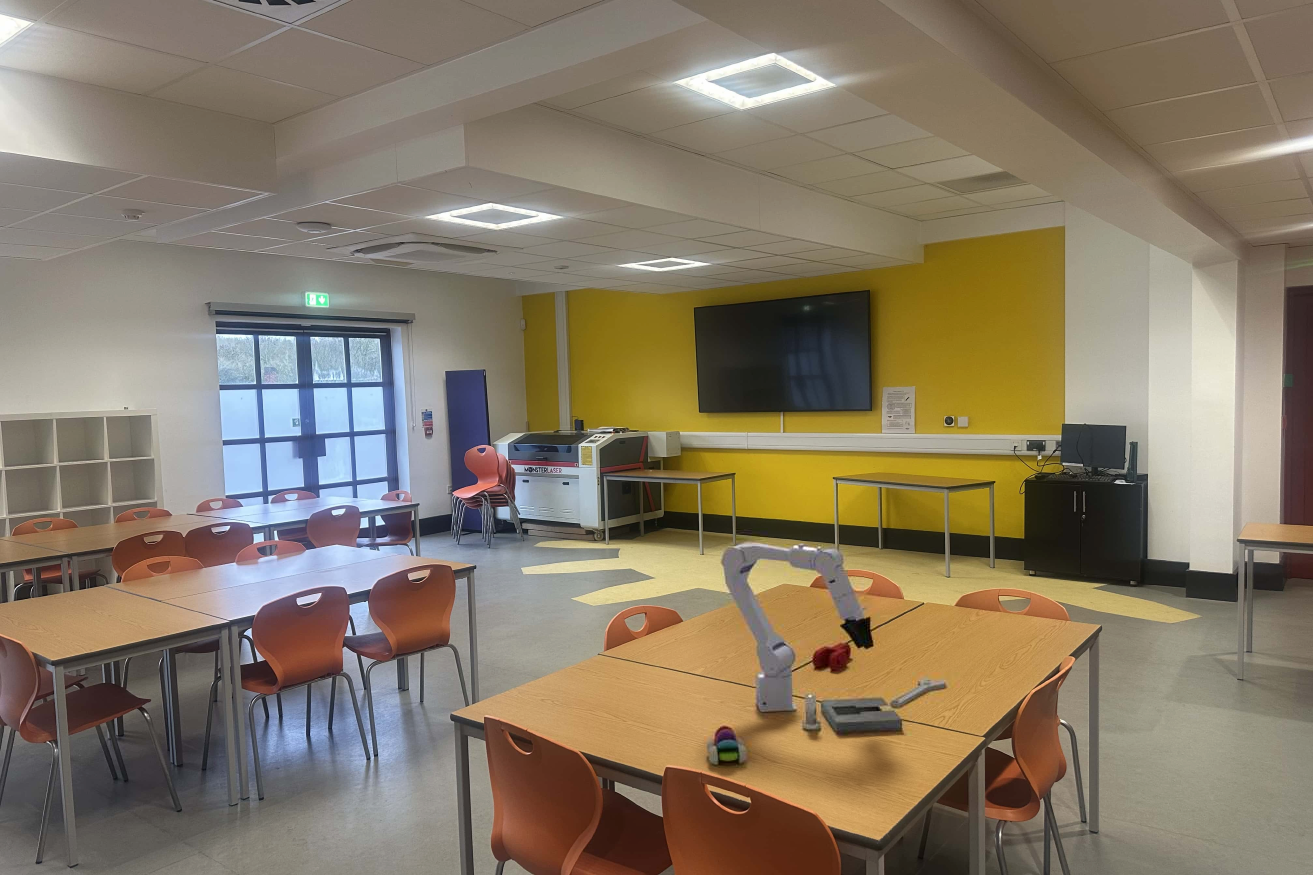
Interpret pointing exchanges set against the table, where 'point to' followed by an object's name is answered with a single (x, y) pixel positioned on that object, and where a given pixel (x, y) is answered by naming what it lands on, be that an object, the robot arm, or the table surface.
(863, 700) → the keyhole plate
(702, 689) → the table surface
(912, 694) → the adjustable wrench
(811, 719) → the steel peg
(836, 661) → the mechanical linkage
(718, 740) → the colorful toy go-kart
